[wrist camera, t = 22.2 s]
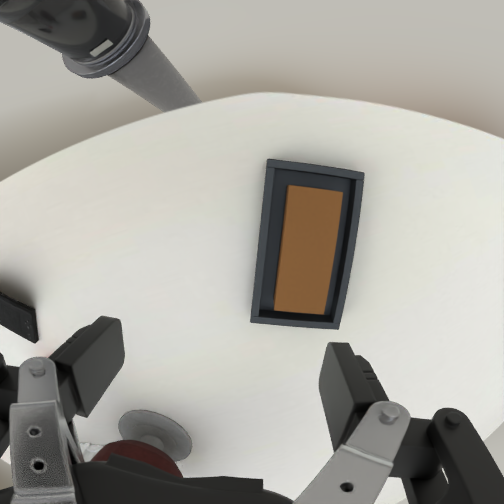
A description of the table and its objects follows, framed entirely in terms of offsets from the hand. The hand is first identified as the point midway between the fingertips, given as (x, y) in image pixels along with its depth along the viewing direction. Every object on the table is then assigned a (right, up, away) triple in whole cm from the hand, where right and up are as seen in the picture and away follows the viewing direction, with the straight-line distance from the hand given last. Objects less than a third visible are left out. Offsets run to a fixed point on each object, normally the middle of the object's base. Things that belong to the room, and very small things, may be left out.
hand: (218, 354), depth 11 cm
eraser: (+7, +4, +20) cm, 22 cm away
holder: (+7, +5, +21) cm, 22 cm away
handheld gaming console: (-36, -5, +25) cm, 44 cm away
